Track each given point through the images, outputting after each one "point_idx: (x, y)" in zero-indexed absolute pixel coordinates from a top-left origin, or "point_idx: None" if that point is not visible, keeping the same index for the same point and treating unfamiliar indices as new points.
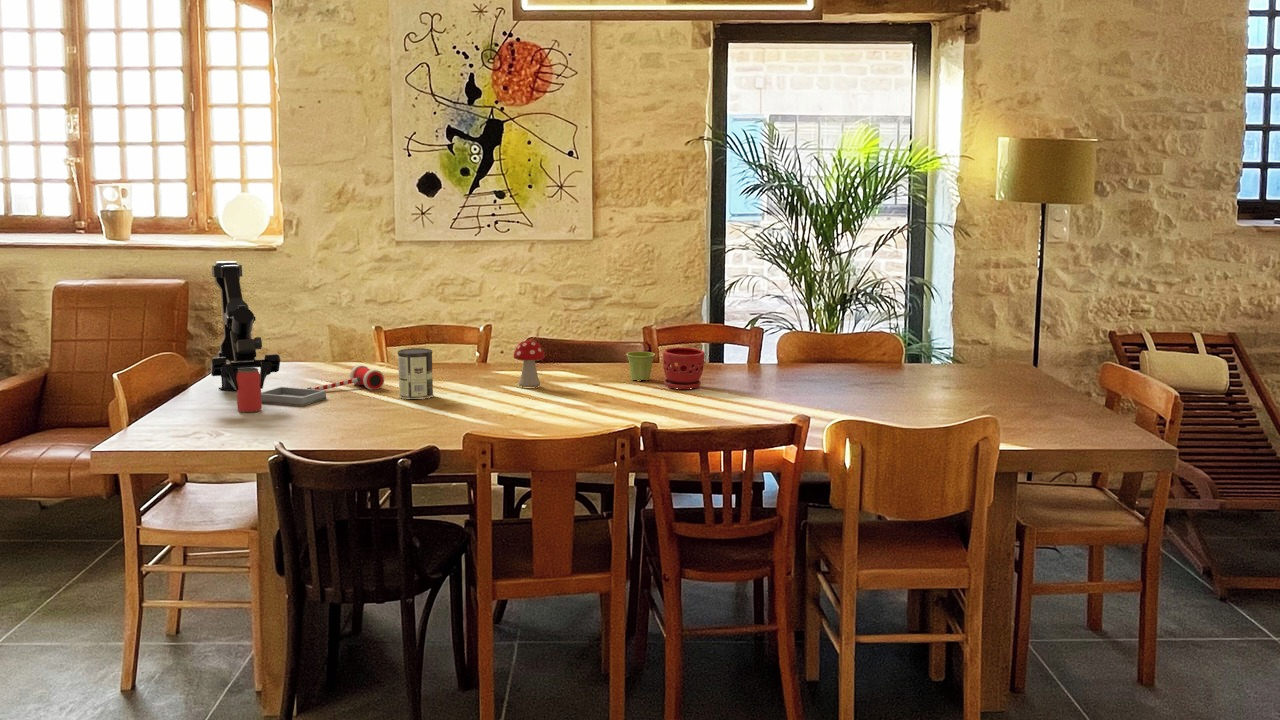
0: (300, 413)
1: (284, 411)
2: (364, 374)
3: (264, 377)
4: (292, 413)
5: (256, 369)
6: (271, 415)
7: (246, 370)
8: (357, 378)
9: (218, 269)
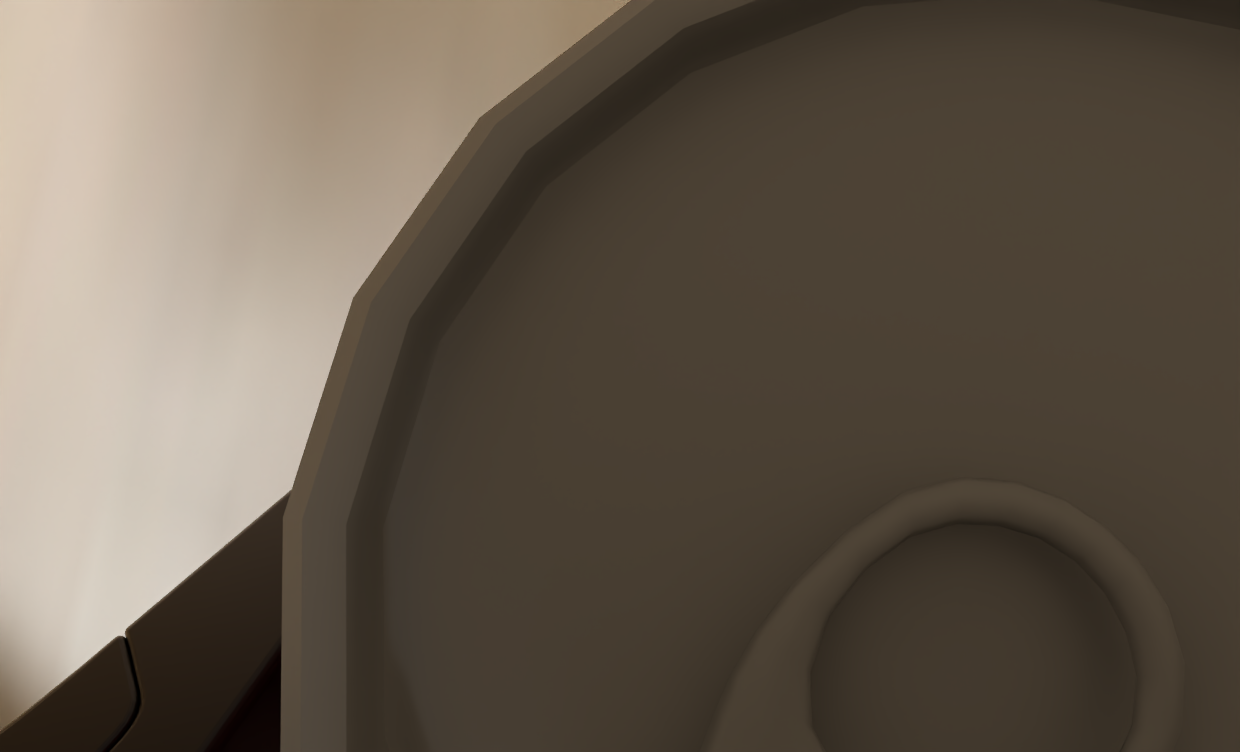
0: (7, 76)
1: (203, 316)
2: None
3: (175, 587)
4: (120, 115)
5: (386, 746)
6: (458, 69)
7: (1138, 671)
8: None
9: None
